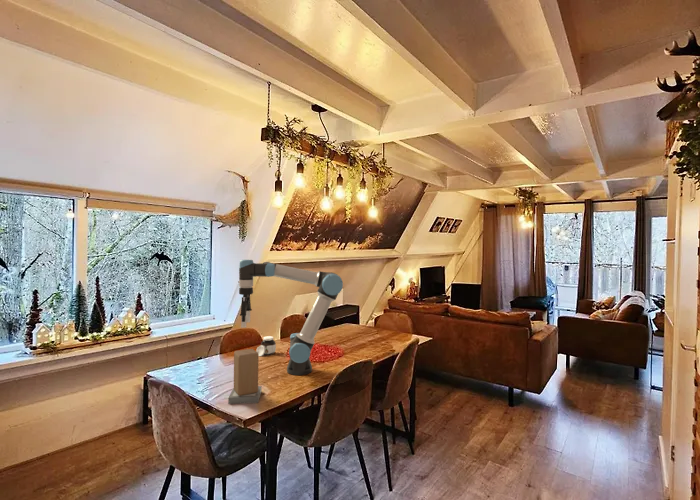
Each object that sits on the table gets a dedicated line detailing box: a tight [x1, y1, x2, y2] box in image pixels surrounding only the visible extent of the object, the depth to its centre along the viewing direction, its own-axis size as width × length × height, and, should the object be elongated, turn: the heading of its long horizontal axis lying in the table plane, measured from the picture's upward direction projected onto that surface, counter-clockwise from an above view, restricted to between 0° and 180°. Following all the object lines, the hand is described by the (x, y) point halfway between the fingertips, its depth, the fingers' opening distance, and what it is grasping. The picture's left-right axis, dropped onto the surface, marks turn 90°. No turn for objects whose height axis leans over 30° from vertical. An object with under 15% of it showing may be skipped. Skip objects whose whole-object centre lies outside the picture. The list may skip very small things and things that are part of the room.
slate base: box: [227, 385, 263, 405], centre depth 191 cm, size 14×14×3 cm
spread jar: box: [255, 335, 277, 357], centre depth 264 cm, size 12×11×12 cm
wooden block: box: [233, 348, 260, 396], centre depth 190 cm, size 10×10×20 cm
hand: (245, 324), depth 214 cm, fingers open, 13 cm apart
